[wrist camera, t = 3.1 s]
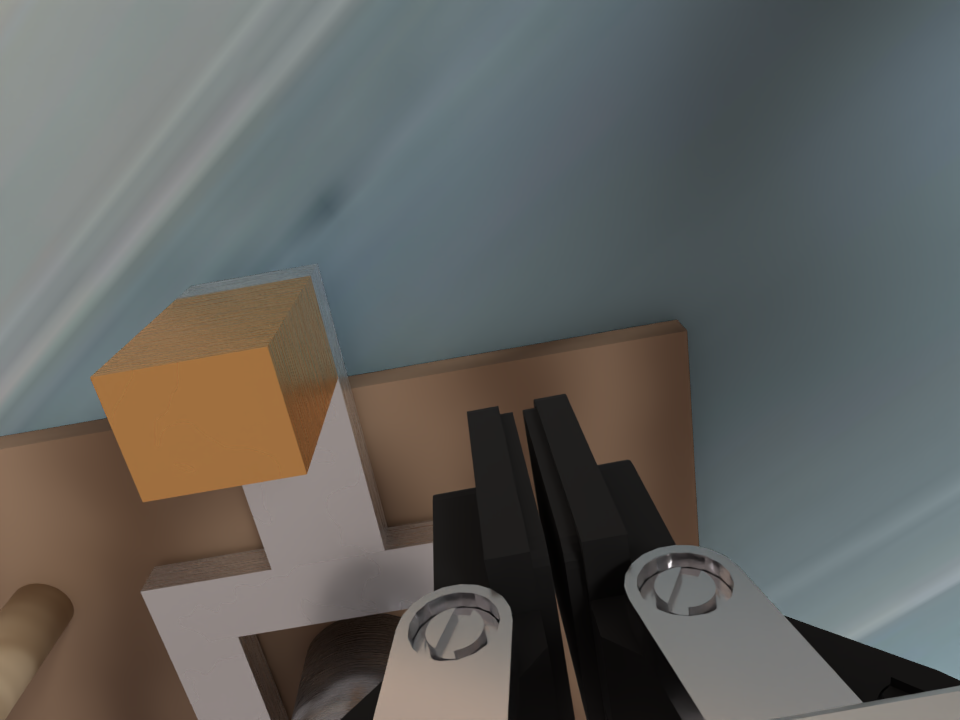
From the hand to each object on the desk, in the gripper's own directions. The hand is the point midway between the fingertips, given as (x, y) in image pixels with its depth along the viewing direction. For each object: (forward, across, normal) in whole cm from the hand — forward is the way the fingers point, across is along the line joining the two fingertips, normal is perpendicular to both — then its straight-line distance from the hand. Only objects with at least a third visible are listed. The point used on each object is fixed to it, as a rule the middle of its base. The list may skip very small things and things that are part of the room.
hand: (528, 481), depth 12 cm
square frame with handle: (+10, +6, +8) cm, 14 cm away
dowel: (+10, +16, +8) cm, 21 cm away
